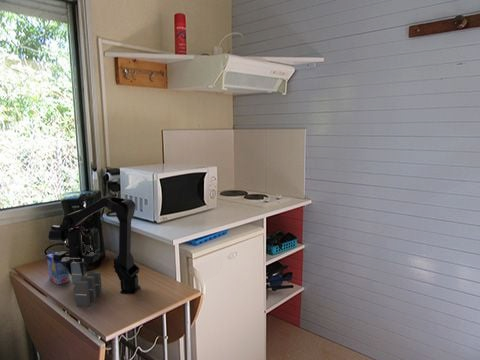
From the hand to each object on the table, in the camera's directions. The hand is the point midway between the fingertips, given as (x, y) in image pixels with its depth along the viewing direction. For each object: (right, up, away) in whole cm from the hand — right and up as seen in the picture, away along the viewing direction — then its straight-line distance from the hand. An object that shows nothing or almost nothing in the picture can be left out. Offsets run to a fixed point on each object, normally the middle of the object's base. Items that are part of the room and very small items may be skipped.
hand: (77, 275), depth 154 cm
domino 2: (+9, -8, -15) cm, 19 cm away
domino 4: (+10, -6, -6) cm, 14 cm away
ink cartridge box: (-13, -5, +9) cm, 16 cm away
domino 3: (+10, -7, -11) cm, 16 cm away
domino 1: (0, -4, +1) cm, 4 cm away
